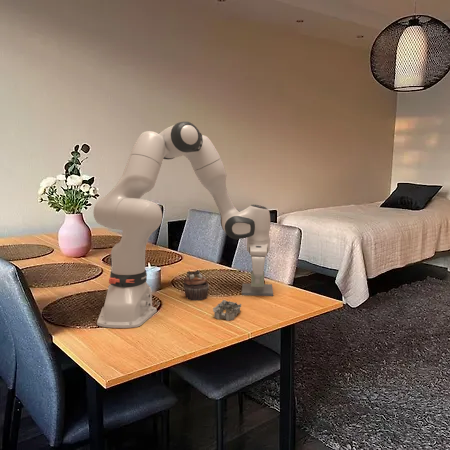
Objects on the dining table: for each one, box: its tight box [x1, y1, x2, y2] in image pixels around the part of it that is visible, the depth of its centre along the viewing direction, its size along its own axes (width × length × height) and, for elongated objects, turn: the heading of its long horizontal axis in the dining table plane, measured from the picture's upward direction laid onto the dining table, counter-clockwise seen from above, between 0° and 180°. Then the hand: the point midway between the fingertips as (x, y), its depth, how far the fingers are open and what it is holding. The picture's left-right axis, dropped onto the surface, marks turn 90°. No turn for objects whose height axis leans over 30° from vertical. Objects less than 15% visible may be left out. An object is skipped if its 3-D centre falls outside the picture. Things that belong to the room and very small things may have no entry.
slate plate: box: [241, 283, 274, 297], centre depth 181 cm, size 12×12×1 cm
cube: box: [250, 270, 265, 287], centre depth 180 cm, size 5×5×5 cm
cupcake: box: [182, 269, 210, 302], centre depth 172 cm, size 10×10×10 cm
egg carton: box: [212, 299, 242, 322], centre depth 154 cm, size 11×8×4 cm
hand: (257, 280), depth 180 cm, fingers closed on cube, 5 cm apart
